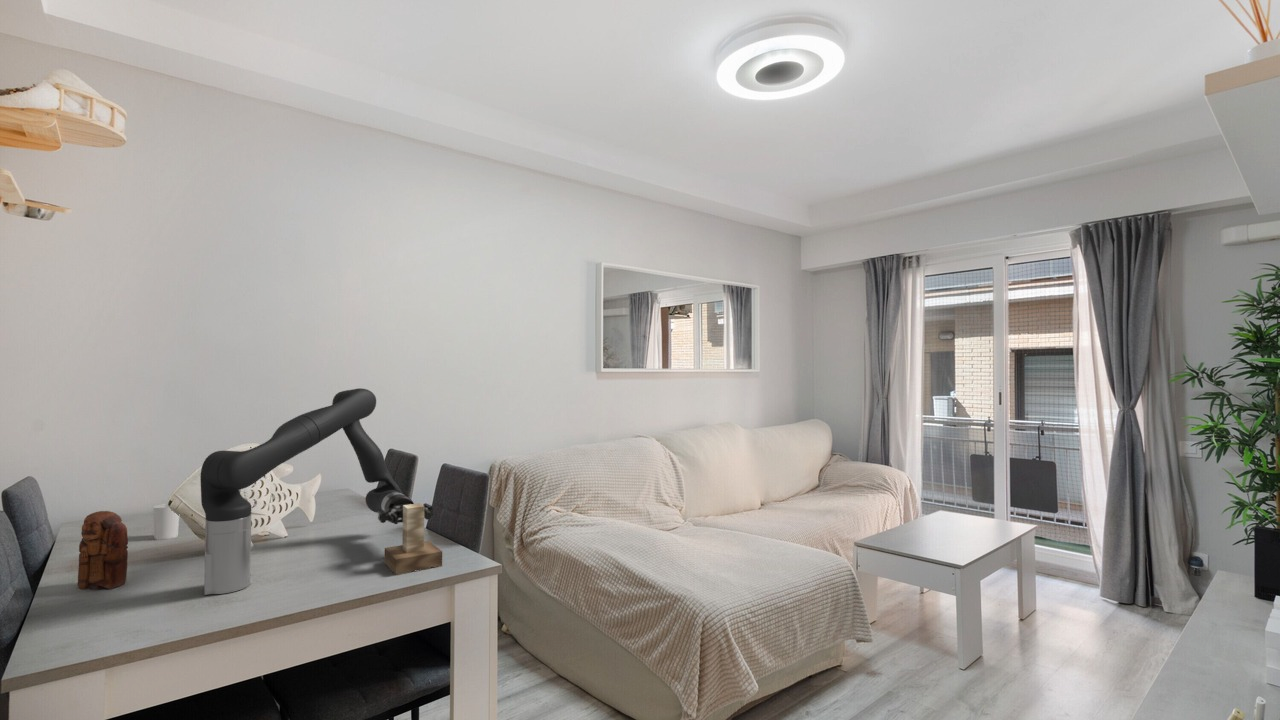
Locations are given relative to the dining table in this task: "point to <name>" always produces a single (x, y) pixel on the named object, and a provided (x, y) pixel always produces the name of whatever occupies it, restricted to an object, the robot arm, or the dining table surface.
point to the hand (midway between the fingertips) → (412, 518)
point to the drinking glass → (165, 522)
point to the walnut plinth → (412, 558)
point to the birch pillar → (413, 528)
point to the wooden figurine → (103, 551)
